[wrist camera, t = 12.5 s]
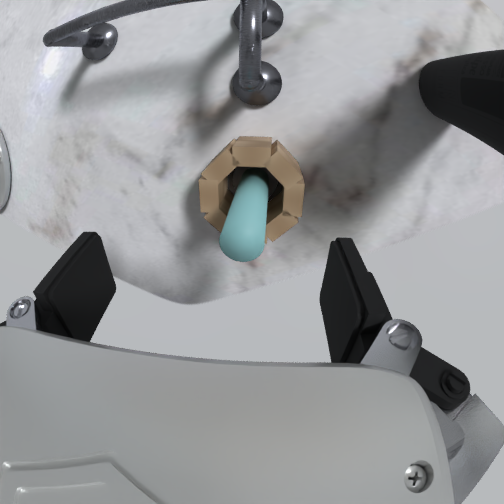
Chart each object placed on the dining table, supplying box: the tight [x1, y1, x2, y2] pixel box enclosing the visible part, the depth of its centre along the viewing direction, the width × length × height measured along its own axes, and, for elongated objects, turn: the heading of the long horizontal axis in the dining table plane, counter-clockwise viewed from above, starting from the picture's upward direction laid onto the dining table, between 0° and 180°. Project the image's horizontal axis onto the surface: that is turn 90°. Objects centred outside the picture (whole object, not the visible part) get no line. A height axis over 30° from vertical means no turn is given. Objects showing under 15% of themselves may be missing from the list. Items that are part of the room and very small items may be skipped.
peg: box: [219, 166, 278, 262], centre depth 16 cm, size 3×3×9 cm
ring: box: [199, 136, 305, 244], centre depth 18 cm, size 6×6×4 cm
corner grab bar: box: [43, 0, 283, 106], centre depth 12 cm, size 15×8×6 cm, turn 89°
